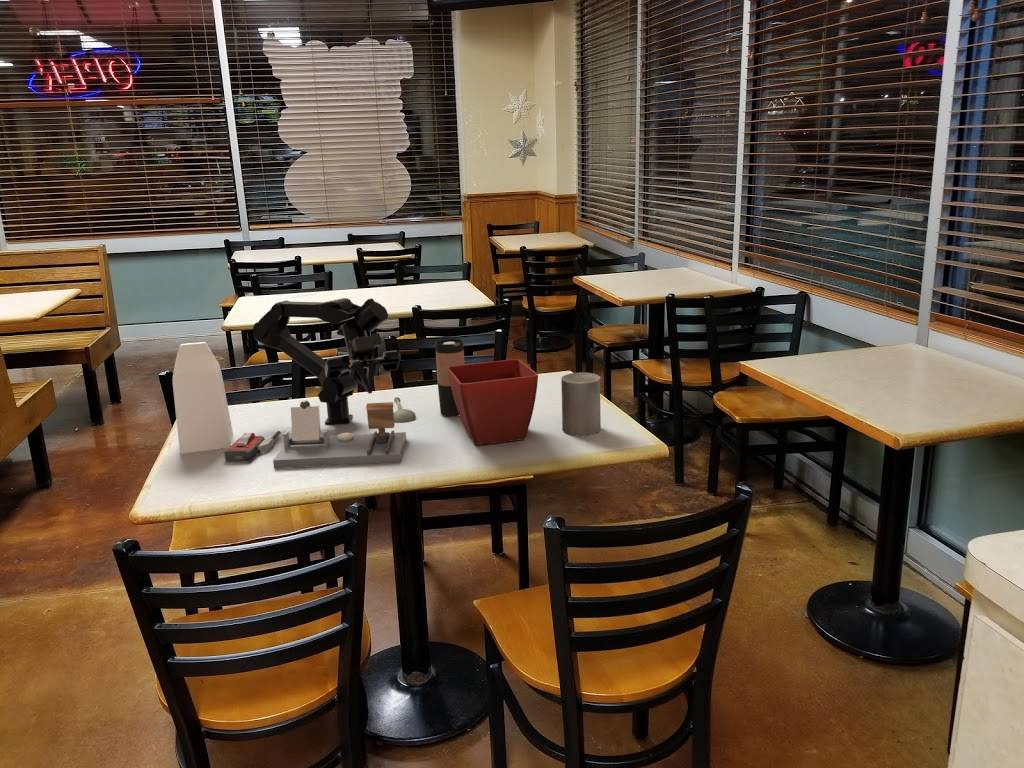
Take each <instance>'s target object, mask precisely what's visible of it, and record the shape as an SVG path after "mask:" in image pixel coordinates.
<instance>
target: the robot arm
mask: <svg viewBox="0 0 1024 768" xmlns="http://www.w3.org/2000/svg"><path fill="white" fill-rule="evenodd" d="M291 318H308V319H309V318H310V319H314V318H315V319H319V320H321V321H323V322H326V323H329V324H334V325H335V324H339V323H342V322H345V321H346V322H345V323H344V324H340V327H339V328H338V330H336V331H337V332H336V335H338V336H341V337H343V338H344V341H345V345H346V346H345V347H346V350H347V355H348V357H349V361H344V359H343V358H342V356H340V357H339V356H338V357H331V358H327V359H326V360H325V359H323V357H321V356H320V355H318V354H317V353H316V352H314V351H313V350H312V349H310V348H309V347H307V346H306V345H305V344H303V343H302V342H300V341H299V340H298V339H296V338H295V337H294V336H293V335H292V334H291V333H290V330H289V327H288V324H289V323H290V319H291ZM388 318H389V313H388V310H387V308H385V306H383V305H382V304H381V303H379V302H377V301H375V299H374V298H369V299H367V300H365V301H364V303H363V304H361V305H358V304H356V303H353V302H352V301H351V299H350V298H346V297H342V298H337V299H332V300H329V301H321V302H319V301H318V302H317V301H289V300H282V301H279V302H275V303H274V304H273V305H272V307H270V309H269V311H267V312H266V313H265V314H263V316H262V317H261V318H260V319H259V320H258V321H257V322H255V323H254V324H253V327H252V334H253V338H254V339H255V340H256V341H257V342H258V343H259V344H262V345H264V346H266V347H269V348H274V349H277V350H280V352H283V354H285V355H286V356H288V358H291V359H292V360H294V361H295V362H296V363H297V364H299V365H300V366H301V367H302V368H304V369H306V371H308V372H309V373H311V374H312V375H314V376H315V377H317V379H318V381H319V383H320V386H321V388H322V389H321V391H319V392H318V394H317V397H318V399H319V402H320V403H325V404H326V411H327V412H326V413H327V418H326V420H325V422H324V424H325V425H337V424H349V423H350V422H351V420H352V419H353V414H351V413H350V411H349V409H350V408H349V399H348V397H350V396H353V395H354V391H355V389H356V387H357V383H358V384H360V386H361V387H362V388H363V389H364V390H365V391H366V392H367V393H368V395H369V394H370V395H371V394H373V389H374V378H375V377H374V376H377V375H378V374H379V370H380V366H381V367H382V370H384V371H385V372H392V371H397V370H398V369H399V368H400V363H401V359H402V355H401V353H400V352H399V351H398V350H396V349H395V350H389V351H388V350H387V351H383V353H382V357H373V356H375V354H376V353H375V349H376V348H377V347H378V348H379V347H380V346H381V345H382V339H381V338H382V337H381V335H380V333H379V332H374V330H376V329H377V328H378V327H379V326H380V325H381V324H383V323H384V322H386V321H387V320H388ZM367 332H370V333H371V332H374V333H371V335H368V333H367ZM365 368H366V373H365Z"/></svg>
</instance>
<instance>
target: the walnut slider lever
mask: <svg viewBox="0 0 1024 768" xmlns="http://www.w3.org/2000/svg"><path fill="white" fill-rule="evenodd" d="M365 410H366V416H367V427H368V430H378V432H377V435H376V443H382V442H388V440H389V433H390V432H387V431H386V429H394V428H395V422H394V402H391V401H389V402H372V403H371V402H369V403H366V405H365Z"/></svg>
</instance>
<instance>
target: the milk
mask: <svg viewBox="0 0 1024 768" xmlns="http://www.w3.org/2000/svg"><path fill="white" fill-rule="evenodd" d="M223 378H224V377H223V375H222V369H221V365H220V363H219V361H218V359H217V357H215V355H214V353H213V352H212V350H211V349H210V346H209V345H208V343H207V342H206V341H202V342H190V343H181V344H180V345H179V348H178V351H177V353H176V358H175V363H174V368H173V372H172V388H173V398H174V399H173V400H174V409H175V417H176V419H175V420H176V427H177V437H178V447H179V449H178V450H179V454H180V453H182V454H190V453H197V451H199V452H205V451H213V450H214V449H215V450H221V448H223V449H228V448H229V447H230V446H231V444H233V438H234V437H233V436H234V431H233V426H232V420H231V416H230V415H231V414H230V411H229V410H230V409H229V406H228V398H227V395H226V394H227V393H226V390H225V389H226V388H225V384H224V383H225V382H224V379H223ZM232 437H233V438H232Z"/></svg>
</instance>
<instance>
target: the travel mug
mask: <svg viewBox="0 0 1024 768" xmlns="http://www.w3.org/2000/svg"><path fill="white" fill-rule="evenodd" d="M434 345H435V346H434V347H435V359H436V379H437V390H438V400H439V408H440V409H439V410H440V411H439V412H440V415H441V416H442V417H451V416H455V417H460V416H459V413H458V410H457V406H456V403H455V400H454V396H453V393H452V389H451V385H450V381H449V376H448V371H447V367H449V366H457V365H465V364H466V363H465V350H464V341H463V339H460V338H444V339H439V340H436V341H435V344H434ZM451 418H452V417H451Z"/></svg>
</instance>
